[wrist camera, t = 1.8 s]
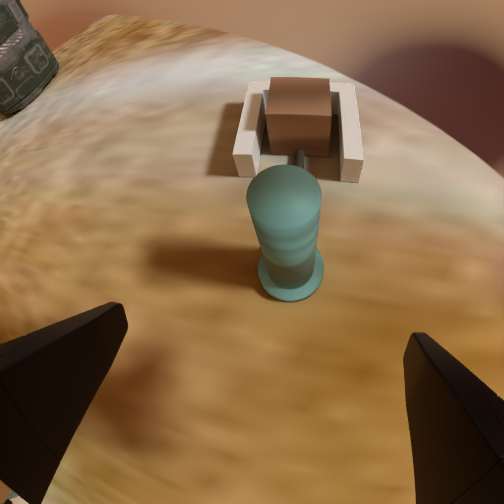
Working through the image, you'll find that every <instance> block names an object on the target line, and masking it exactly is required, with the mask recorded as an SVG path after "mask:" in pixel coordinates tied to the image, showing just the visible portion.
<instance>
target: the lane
mask: <svg viewBox="0 0 504 504" xmlns="http://www.w3.org/2000/svg"><path fill="white" fill-rule="evenodd" d="M329 83H330V98H331V114H334V115H338V130H339V150H340V181H344V182H356V183H358V181H359V177H360V173H361V169H362V165H363V160H364V159H363V149H362V139H361V131H360V123H359V115H358V108H357V101H356V94H355V88H354V84H349V83H336V82H329ZM269 87H270V81H249V85H248V89H247V93H246V98H245V102H244V106H243V110H242V114H241V119H240V123H239V127H238V132H237V136H236V140H235V145H234V149H233V154H232V155H233V158H234V161H235V165H236V168H237V171H238V174H239V177H255V176H256V175H257V172H258V165H259V159H260V152H261V146H262V139H263V133H264V127H265V120H266V117H265V111H266V105H267V99H268V93H269Z"/></svg>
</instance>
